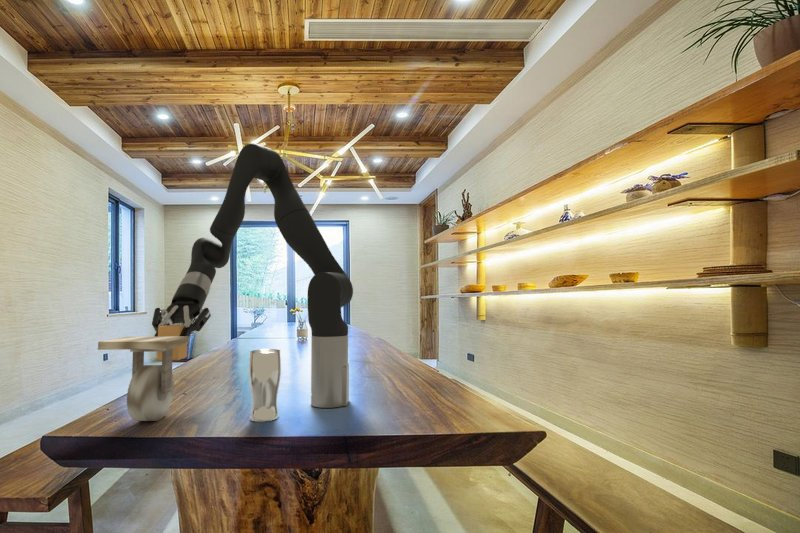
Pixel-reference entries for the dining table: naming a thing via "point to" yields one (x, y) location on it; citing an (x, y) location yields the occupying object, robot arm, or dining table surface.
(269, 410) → the beer glass
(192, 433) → the dining table surface
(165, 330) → the orange tan block
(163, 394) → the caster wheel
